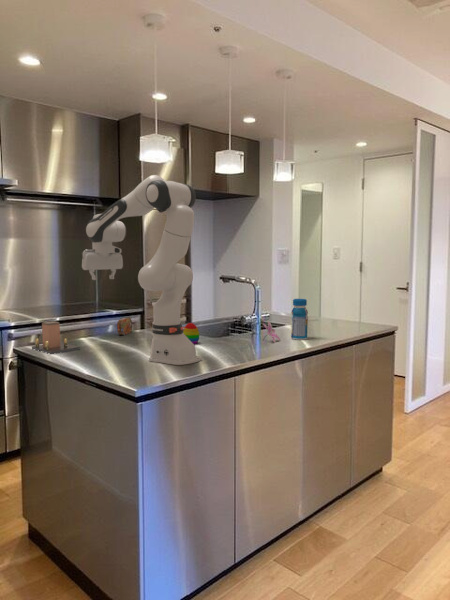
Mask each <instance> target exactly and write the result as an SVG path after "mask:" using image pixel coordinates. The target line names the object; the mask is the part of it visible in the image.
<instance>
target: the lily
mask: <svg viewBox="0 0 450 600" xmlns="http://www.w3.org/2000/svg"><path fill="white" fill-rule="evenodd" d="M262 325H263V326H264V328H265V329H266V335H265V336H264V338H263V339H262V341H264V340H265V338H266V337H267V336H270V337H271V338H272V341H273V342H274V344H276V340H278V341H282V340H281V338H280V337H279V335H278V334H277V333H276V331H277V330H276V329H275V328H273V325H272V324H271V321H270V320H267V324H265V323H262Z"/></svg>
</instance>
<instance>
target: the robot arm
mask: <svg viewBox="0 0 450 600" xmlns="http://www.w3.org/2000/svg"><path fill="white" fill-rule="evenodd" d="M196 197H197V196H196V191H195V189H194V188H193V187H192V186H191V185H188V184H186V183H181V182H177V181H174V180H165V179H164V178H163V177H161V176H159V175H158V174H152V175H149V176H148V177H147V178H145V179H144V180H142V181H141V182H140V183H139V184H138V185H137V186H136V187H135V188H134V189H133V190H132V191H131V192H129V193H128V194H127V195H125V196H123V197H122V198H121V199H118V200H117V201H114V203H113V204H111V205H110V206H109V207H108V208H106V209H105V210H104V211H103V212H102V213H97V214H94V215H93V217H92V219H90V220H89V221H88V222H87V224H86V226H85V234H86V236H87V238H88V239H89V240H90V241H91V244H92V245H91V246H92V247H91V248H92V249H86V248H85V250H83V251H82V252H81V255H82V259H81V268H82V270H83V271H89V274H90V276H91V280H93V281H97V279H98V278H97V277H98V276H97V275H96V274H95V271H96V270H98V271H99V270H102V271H103V270H110V272H111V273H110V274H109V275H108V276H109V280H115V275H116V272H117V270H122V269H123V268H124V261H123V260H124V259H123V255H122V254H121V253H122V248H119V247H117V246H114V245H113V243H118V242H119V243H120V242H123V241H124V240H125V239H126V237H127V227H126V225H125V223H124V222H123V221H120V220H121V219H124V218H130V217H141V216H142V217H143V216H145V215H148V214H149V213H150V212H152V211H154V209H156V210H157V211H158V212H159V213H165V215H166V219H165V224H164V228H163V232H162V236H161V239H160V243H159V246H158V247H157V250H156V252H155V253H154V255H153V257H152V258H151V259H150V260H149V261H148V262H147V263H146V264H145V265H144V266H142V267H141V268H140V270H139V272H138V273H137V274H138V275H137V281H138V284H139V286H140V287H141V288H142V289H143V290H144V291H145V290H146V291H150V292H161V295H160V297H159V298H158V300H157V301H156V302H154V304H153V307H152V309H153V313H152V317H153V324H152V328H151V329H152V335H153V336H152V339H151V347H150V357H148V361H149V362H154V363H160V364H168V365H173V366H174V365H175V366H182V365H183V366H185V365H189V364H194V363H197V362H198V363H199V362H201V361H202V359H203V357H202V356H199V355H197V352H196V351H197V350H196V346H195V345H196V344H193V343H192V342H191V341H190V340H189V339H188V338H187V337H186V336H185V335H184V333H183V332H184V331H183V330H184V328H185V326H183V325H182V323H181V308H182V307H181V306H182V301H183V298H184V295H185V293H186V291H187V289H188V288H189V287H190V286H191V284H192V283H193V279H194V274H193V270H192V268H191V267H190V266H188V265H186V264H183V263H178V262H179V261H180V260H181V259H183V258H184V257H185V256H186V255H187V253H188V249H189V246H190V243H191V242H190V241H191V238H192V234H193V229H194V225H195V224H194V223H195V211H194V210H193V209H192V207H193V206H194V205H195V203H196V200H197V198H196Z"/></svg>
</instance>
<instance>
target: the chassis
mask: <svg viewBox="0 0 450 600" xmlns="http://www.w3.org/2000/svg"><path fill="white" fill-rule="evenodd" d="M39 339H40V338H35V345H33V346H31V349H32V350H33V349H36V350H35V351H37V350H40V351H44V352H47V353H46V354H48V353H50V354H49V355H55V354H54V353H56V354H61V353H60V352H62V353H68V352H73V350H74V351H79V349H81V348H80V346H77V345H74V344H69V343H68V338H67V337H66V338H63V342H61V341H60V346H59V347H53V348H49V341H45V347H43V344H40V340H39ZM40 351H39V352H40ZM67 351H68V352H67ZM44 352H43V353H44Z"/></svg>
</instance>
